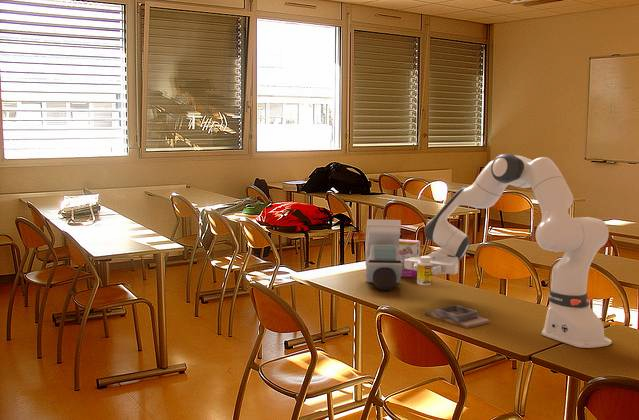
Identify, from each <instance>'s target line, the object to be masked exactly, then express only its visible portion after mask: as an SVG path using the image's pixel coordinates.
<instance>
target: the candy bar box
mask: <svg viewBox="0 0 639 420" xmlns="http://www.w3.org/2000/svg"><path fill="white" fill-rule="evenodd" d="M420 250H421V241H420V240H416V239H415V240H412V239H402V238H401V239H400V238H399V254H400V258H401V261H402V262H401V263H402V273H401V278H403V277H404V278H412V279H414V278H415V279H417V271H416V270H412V269H406V268H404V261H405V259H408V258H411V257H418V258H420Z"/></svg>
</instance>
